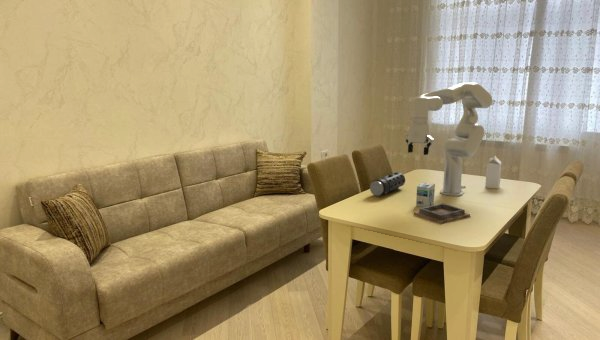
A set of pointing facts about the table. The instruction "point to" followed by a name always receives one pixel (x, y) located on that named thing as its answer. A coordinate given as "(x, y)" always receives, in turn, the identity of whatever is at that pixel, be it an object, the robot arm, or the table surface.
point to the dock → (441, 213)
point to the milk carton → (493, 173)
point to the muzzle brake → (387, 184)
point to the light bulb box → (425, 194)
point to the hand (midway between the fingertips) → (417, 153)
